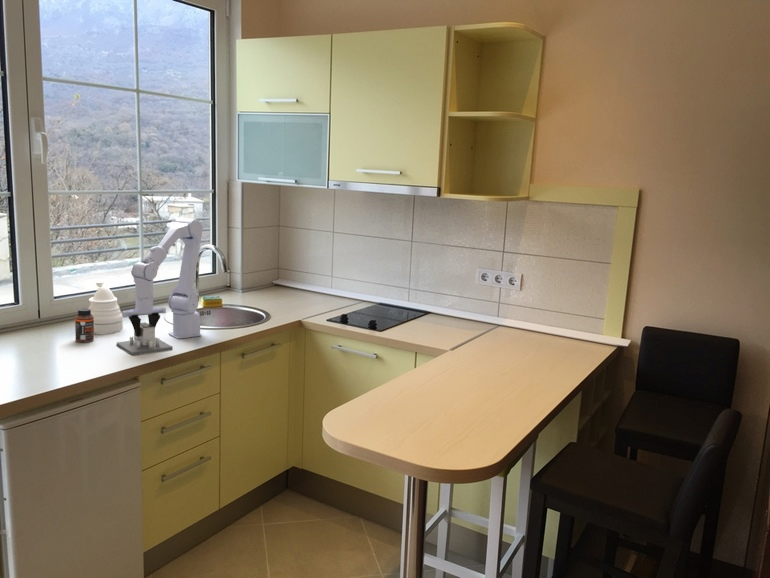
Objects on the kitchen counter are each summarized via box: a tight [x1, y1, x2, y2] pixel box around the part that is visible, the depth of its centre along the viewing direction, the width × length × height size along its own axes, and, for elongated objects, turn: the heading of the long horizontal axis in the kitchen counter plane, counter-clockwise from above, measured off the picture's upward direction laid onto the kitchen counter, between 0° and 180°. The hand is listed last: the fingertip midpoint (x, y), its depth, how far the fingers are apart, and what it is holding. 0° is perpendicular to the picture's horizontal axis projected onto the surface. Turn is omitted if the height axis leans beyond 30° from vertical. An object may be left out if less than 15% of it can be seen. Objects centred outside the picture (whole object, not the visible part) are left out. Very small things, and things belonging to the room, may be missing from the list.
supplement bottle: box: [74, 307, 95, 343], centre depth 227 cm, size 6×6×11 cm
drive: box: [133, 322, 156, 346], centre depth 224 cm, size 8×4×6 cm, turn 42°
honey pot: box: [87, 280, 124, 334], centre depth 242 cm, size 13×13×18 cm
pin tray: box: [116, 336, 173, 356], centre depth 224 cm, size 14×14×4 cm
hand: (144, 335), depth 224 cm, fingers open, 4 cm apart
